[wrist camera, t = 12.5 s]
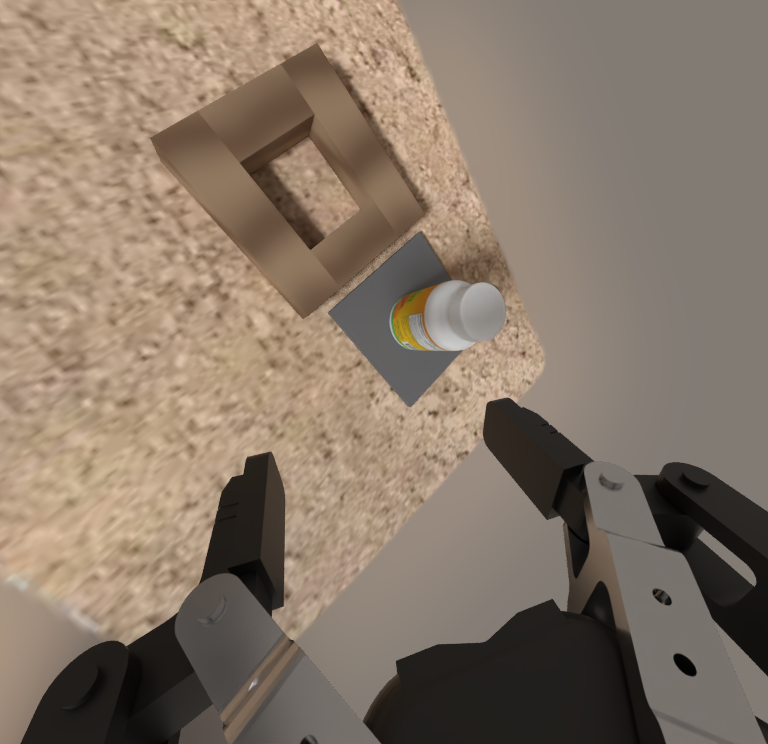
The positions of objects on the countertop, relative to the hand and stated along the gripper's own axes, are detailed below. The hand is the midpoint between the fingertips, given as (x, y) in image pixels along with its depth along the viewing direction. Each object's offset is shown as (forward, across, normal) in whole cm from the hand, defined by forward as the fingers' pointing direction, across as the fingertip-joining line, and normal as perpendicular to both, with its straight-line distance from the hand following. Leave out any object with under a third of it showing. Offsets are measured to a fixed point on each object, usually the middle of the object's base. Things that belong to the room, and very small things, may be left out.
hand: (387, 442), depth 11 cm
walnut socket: (+21, 0, -8) cm, 23 cm away
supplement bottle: (+18, -8, +3) cm, 20 cm away
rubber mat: (+19, -8, +3) cm, 20 cm away
